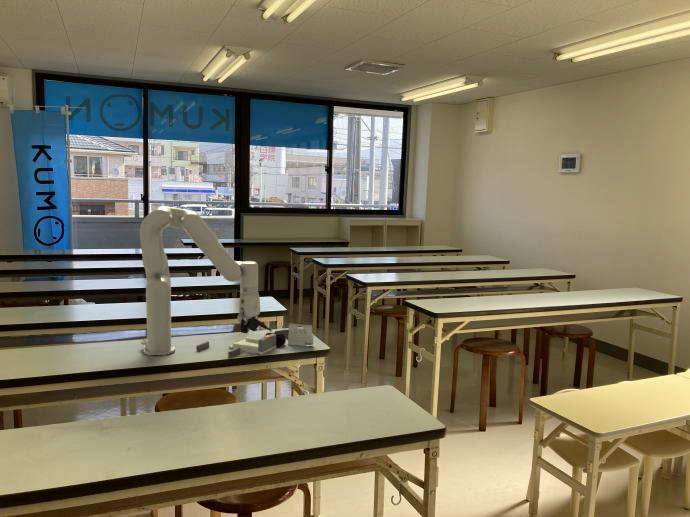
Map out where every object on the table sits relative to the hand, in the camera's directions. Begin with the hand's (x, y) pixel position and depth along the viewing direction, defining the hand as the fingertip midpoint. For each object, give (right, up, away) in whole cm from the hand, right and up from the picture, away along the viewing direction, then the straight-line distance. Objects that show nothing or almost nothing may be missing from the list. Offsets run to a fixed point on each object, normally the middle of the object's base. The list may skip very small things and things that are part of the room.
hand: (249, 330), depth 249 cm
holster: (-12, -8, -7) cm, 16 cm away
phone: (+15, -5, +21) cm, 27 cm away
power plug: (+4, -1, +1) cm, 4 cm away
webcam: (+10, -7, +6) cm, 14 cm away
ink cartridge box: (+22, -8, +6) cm, 24 cm away
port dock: (+1, -8, 0) cm, 8 cm away
